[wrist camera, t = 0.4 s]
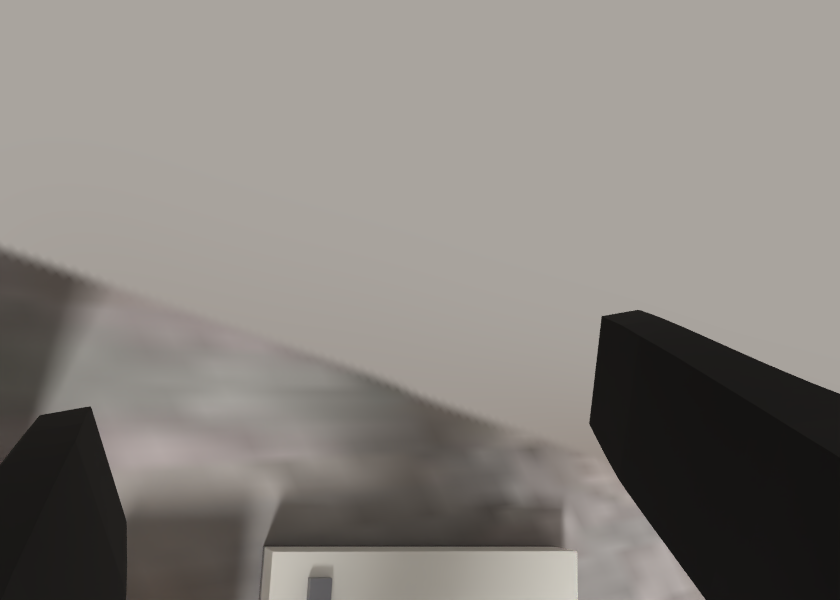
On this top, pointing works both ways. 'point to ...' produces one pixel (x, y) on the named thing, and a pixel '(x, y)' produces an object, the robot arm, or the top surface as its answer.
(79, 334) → the top surface
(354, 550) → the white cutout panel
